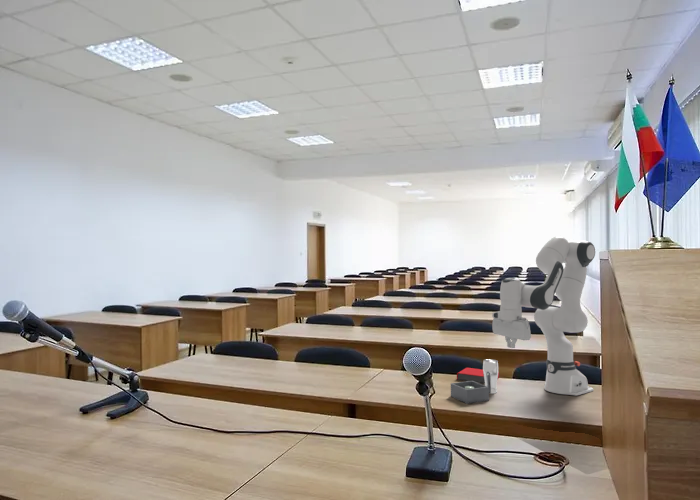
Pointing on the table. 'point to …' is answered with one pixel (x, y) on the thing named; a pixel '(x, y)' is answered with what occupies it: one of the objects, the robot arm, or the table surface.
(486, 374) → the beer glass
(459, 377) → the red device housing
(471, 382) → the bin
